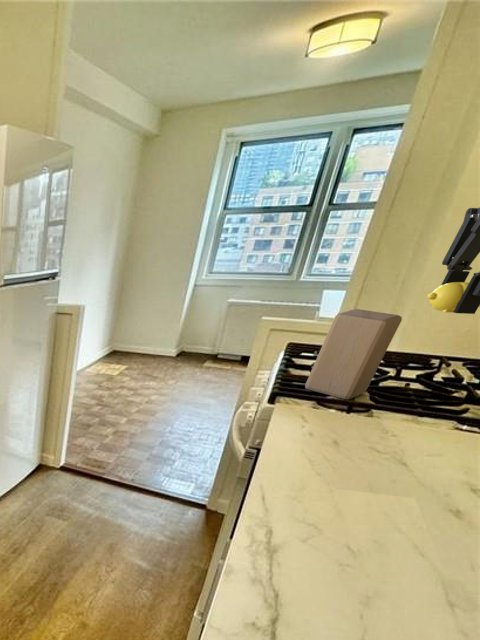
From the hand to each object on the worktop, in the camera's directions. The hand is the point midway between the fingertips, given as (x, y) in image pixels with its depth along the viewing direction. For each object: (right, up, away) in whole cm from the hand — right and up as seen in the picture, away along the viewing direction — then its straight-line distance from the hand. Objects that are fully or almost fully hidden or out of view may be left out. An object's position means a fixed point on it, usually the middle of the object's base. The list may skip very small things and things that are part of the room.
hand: (452, 309), depth 91 cm
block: (+10, -12, +35) cm, 38 cm away
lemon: (0, 0, 0) cm, 0 cm away
